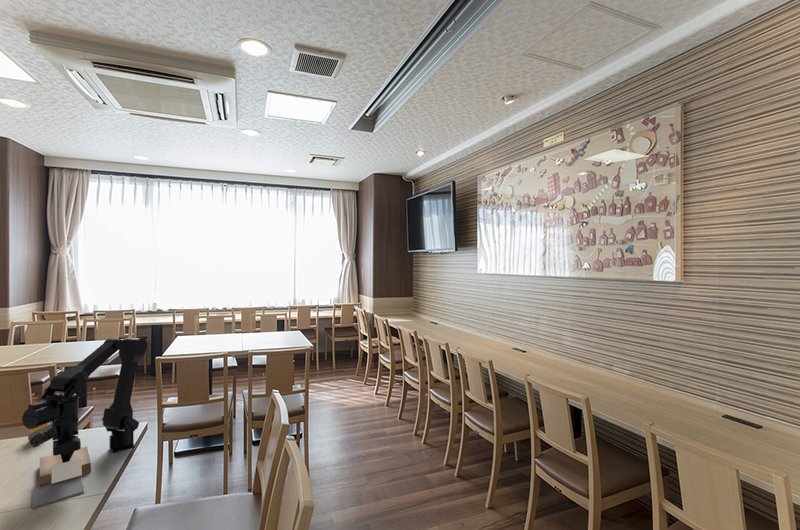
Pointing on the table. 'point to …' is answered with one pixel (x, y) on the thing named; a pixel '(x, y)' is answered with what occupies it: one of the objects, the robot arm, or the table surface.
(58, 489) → the mat
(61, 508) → the table surface
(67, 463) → the white rectangular block
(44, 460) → the serving board
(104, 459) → the table surface
